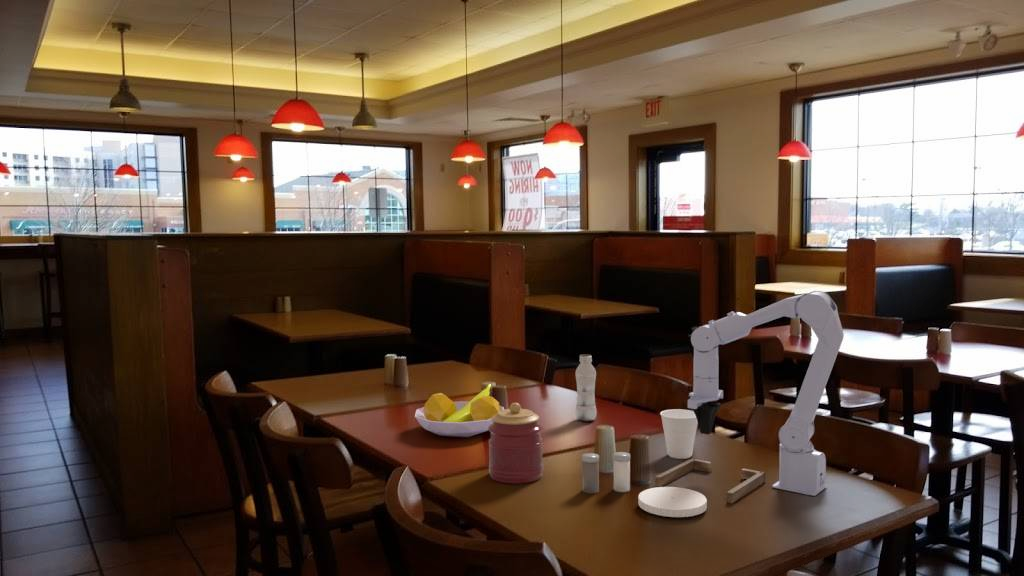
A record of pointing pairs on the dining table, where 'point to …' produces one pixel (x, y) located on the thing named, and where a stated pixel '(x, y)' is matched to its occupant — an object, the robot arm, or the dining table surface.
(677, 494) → the plastic lid
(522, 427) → the canister
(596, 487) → the pepper shaker
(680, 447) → the cup
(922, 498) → the dining table surface
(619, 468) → the salt shaker
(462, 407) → the fruit bowl
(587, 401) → the plastic bottle
